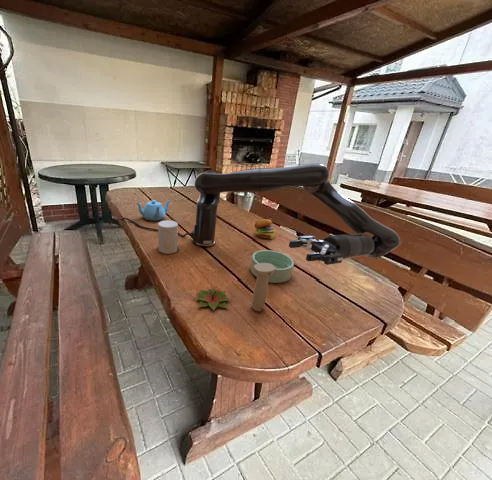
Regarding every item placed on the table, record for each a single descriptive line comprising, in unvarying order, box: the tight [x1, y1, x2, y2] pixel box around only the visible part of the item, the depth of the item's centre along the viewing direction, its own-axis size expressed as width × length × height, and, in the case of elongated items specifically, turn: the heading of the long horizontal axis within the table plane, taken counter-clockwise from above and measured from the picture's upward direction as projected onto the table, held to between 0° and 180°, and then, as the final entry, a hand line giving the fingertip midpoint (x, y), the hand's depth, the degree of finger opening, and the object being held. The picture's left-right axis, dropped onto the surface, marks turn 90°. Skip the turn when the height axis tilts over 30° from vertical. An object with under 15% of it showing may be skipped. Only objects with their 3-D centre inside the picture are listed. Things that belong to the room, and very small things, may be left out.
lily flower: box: [195, 286, 231, 312], centre depth 83 cm, size 12×12×5 cm
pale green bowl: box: [250, 249, 295, 284], centre depth 101 cm, size 16×16×6 cm
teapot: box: [135, 199, 172, 222], centre depth 148 cm, size 15×15×10 cm
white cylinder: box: [157, 220, 179, 255], centre depth 112 cm, size 8×8×12 cm
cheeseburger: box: [254, 218, 276, 240], centre depth 136 cm, size 10×11×10 cm
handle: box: [251, 263, 276, 312], centre depth 78 cm, size 5×6×15 cm
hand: (298, 250), depth 77 cm, fingers open, 8 cm apart
